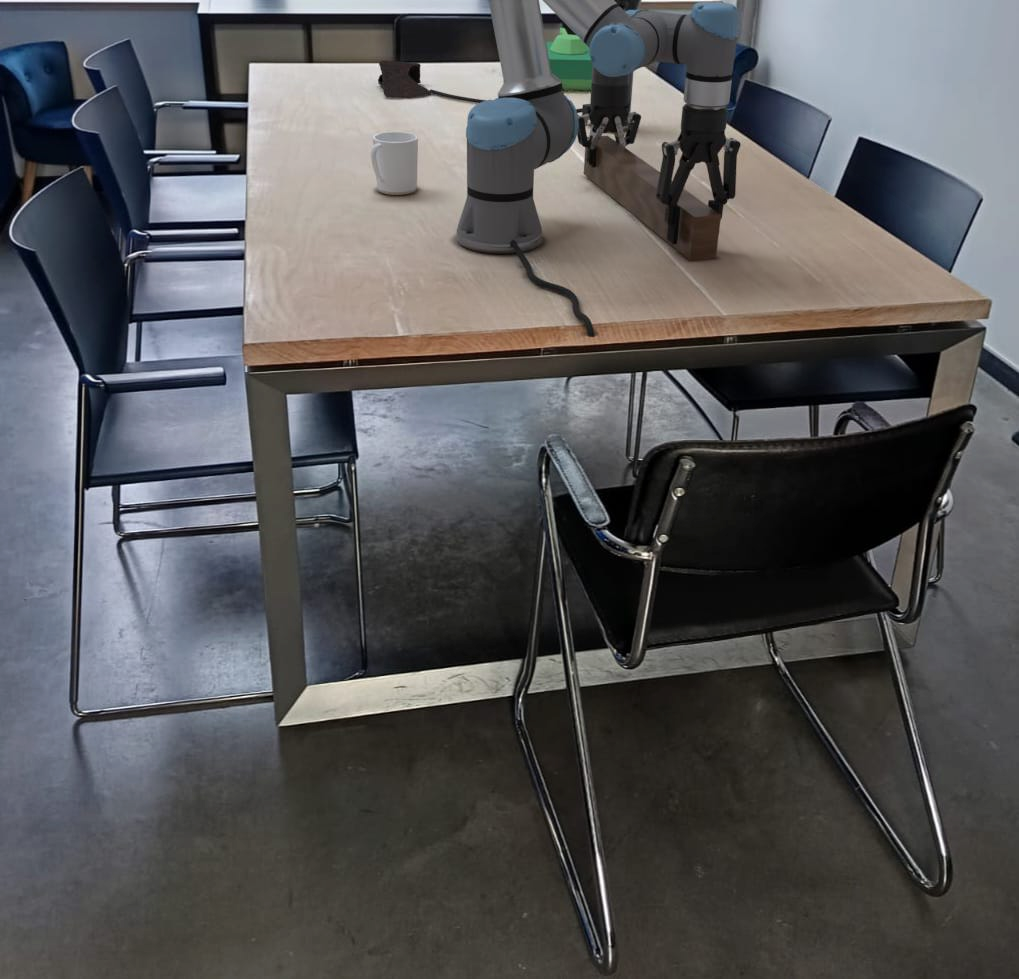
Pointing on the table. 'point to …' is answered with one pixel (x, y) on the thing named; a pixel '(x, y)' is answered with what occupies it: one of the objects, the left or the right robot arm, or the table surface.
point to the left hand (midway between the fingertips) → (690, 239)
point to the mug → (395, 162)
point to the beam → (653, 199)
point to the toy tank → (570, 61)
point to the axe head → (401, 79)
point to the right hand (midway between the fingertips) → (604, 165)
